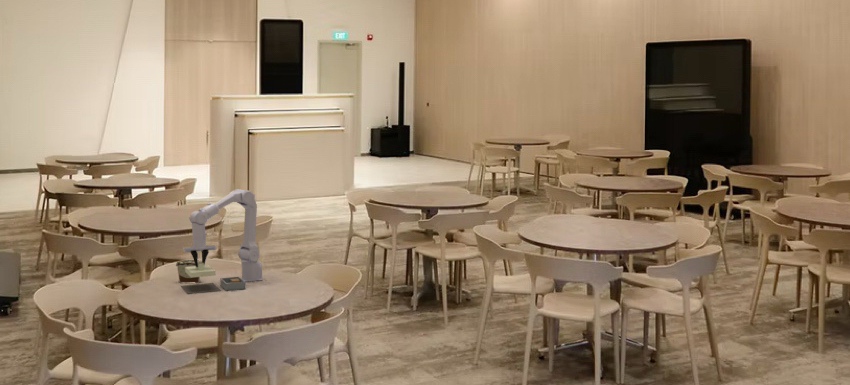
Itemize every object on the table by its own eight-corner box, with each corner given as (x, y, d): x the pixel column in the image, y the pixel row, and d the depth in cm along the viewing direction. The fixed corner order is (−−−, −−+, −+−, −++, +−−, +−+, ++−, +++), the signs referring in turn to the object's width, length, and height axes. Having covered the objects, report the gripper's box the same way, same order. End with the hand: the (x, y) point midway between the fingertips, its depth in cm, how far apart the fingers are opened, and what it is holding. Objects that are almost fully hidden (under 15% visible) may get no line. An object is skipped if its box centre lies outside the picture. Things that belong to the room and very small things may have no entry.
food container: (205, 280, 449) (205, 259, 448) (201, 282, 443) (200, 262, 442) (181, 279, 450) (180, 259, 449) (176, 282, 444) (175, 261, 443)
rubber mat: (212, 283, 442) (212, 282, 442) (221, 290, 425) (221, 290, 425) (180, 286, 436) (180, 285, 436) (187, 294, 419) (187, 293, 419)
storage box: (239, 283, 440) (238, 276, 440) (245, 289, 429) (245, 281, 428) (220, 285, 437) (220, 278, 436) (226, 291, 425) (226, 283, 425)
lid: (208, 269, 439) (208, 258, 438) (215, 275, 425) (215, 264, 425) (185, 271, 434) (184, 260, 434) (191, 277, 421) (190, 266, 420)
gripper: (184, 239, 421) (185, 269, 423) (216, 237, 427) (217, 266, 429) (181, 237, 427) (182, 266, 429) (213, 235, 433) (214, 263, 435)
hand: (199, 266), depth 429 cm, fingers closed on lid, 2 cm apart
